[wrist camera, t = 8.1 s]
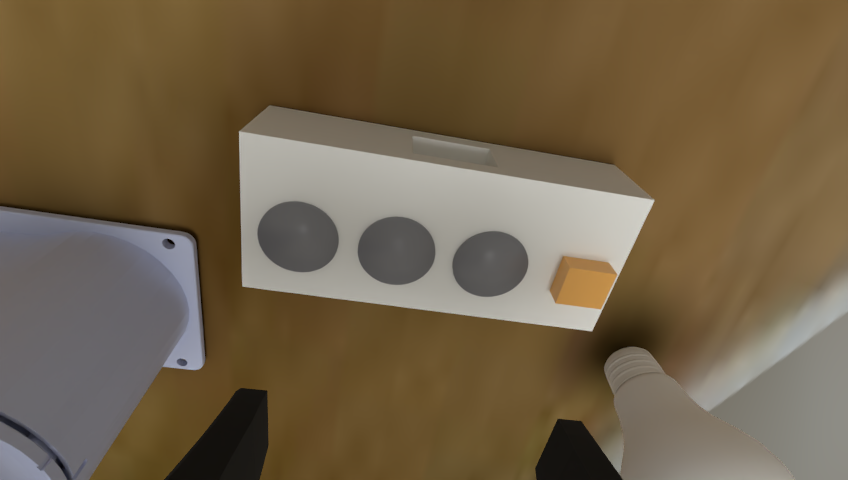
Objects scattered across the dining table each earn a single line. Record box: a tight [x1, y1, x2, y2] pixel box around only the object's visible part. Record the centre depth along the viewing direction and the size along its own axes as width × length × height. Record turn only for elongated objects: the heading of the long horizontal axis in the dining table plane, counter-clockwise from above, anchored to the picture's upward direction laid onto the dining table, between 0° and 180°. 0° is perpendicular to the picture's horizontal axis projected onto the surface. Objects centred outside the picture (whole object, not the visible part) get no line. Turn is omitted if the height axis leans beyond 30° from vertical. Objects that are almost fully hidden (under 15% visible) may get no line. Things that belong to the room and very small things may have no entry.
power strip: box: [239, 105, 654, 331], centre depth 17 cm, size 14×6×4 cm, turn 80°
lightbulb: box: [604, 347, 795, 480], centre depth 19 cm, size 6×6×11 cm
